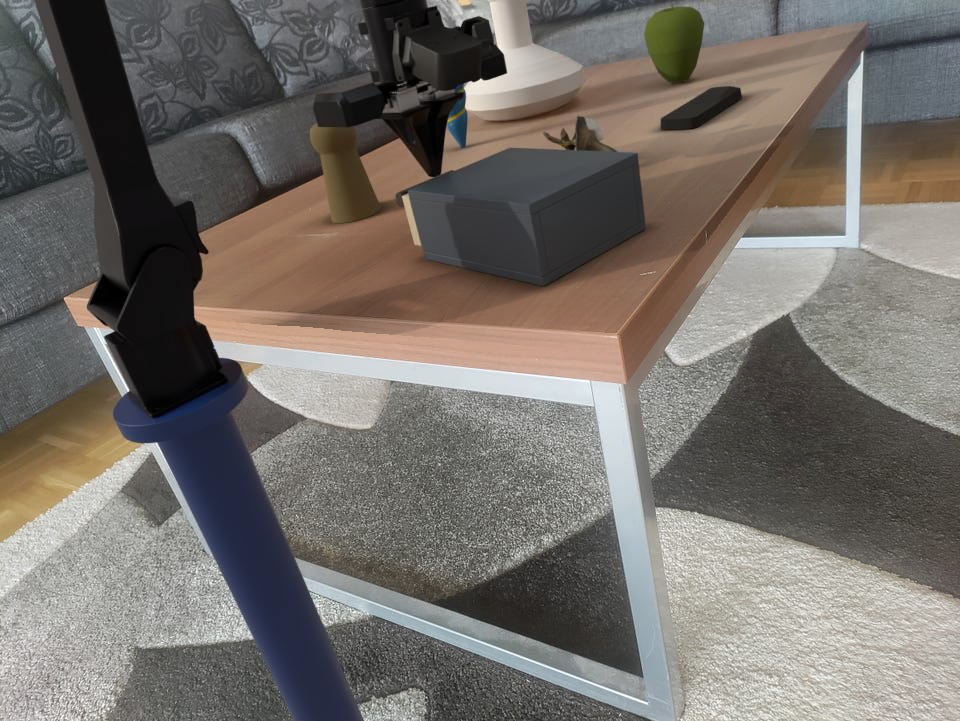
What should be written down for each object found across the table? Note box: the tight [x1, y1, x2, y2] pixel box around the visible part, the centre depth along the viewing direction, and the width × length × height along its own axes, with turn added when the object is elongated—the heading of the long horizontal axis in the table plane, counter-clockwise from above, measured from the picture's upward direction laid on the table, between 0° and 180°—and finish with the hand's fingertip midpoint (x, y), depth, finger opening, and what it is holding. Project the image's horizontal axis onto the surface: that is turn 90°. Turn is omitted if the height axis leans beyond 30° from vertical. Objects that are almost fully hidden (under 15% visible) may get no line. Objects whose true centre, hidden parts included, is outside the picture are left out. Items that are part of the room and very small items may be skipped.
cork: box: [309, 123, 382, 224], centre depth 87 cm, size 6×6×11 cm
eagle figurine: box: [542, 115, 618, 152], centre depth 83 cm, size 8×7×9 cm
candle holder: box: [464, 0, 586, 122], centre depth 119 cm, size 20×20×19 cm
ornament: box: [446, 83, 469, 149], centre depth 106 cm, size 5×5×15 cm
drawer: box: [394, 169, 455, 247], centre depth 69 cm, size 19×11×5 cm, turn 41°
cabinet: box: [408, 147, 647, 287], centre depth 66 cm, size 16×13×7 cm
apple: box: [643, 2, 705, 84], centre depth 115 cm, size 9×8×12 cm
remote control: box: [659, 85, 743, 131], centre depth 97 cm, size 5×2×15 cm
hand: (435, 175), depth 73 cm, fingers closed
